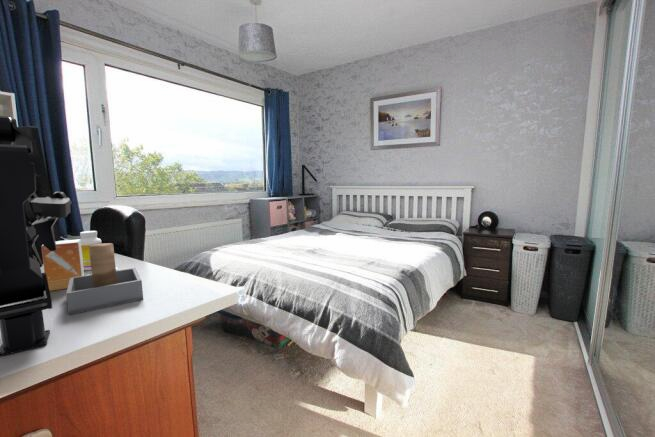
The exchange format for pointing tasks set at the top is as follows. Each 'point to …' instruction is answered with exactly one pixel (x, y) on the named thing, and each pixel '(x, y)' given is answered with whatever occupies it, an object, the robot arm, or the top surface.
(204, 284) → the top surface
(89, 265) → the supplement bottle
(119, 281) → the grey tote
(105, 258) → the brown cylinder
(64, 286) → the small box
